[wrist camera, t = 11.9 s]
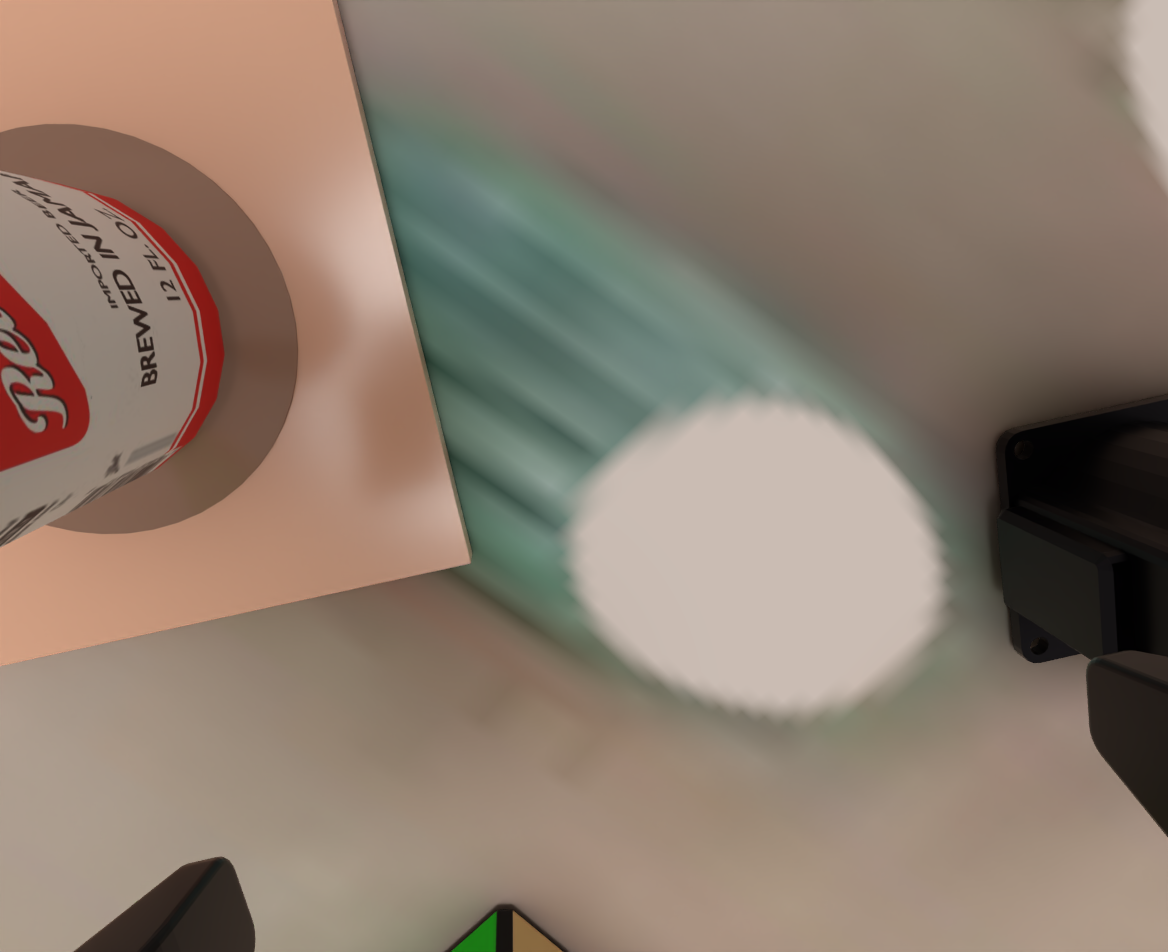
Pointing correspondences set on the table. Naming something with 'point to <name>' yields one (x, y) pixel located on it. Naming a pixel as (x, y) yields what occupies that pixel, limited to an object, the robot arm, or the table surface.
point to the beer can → (93, 350)
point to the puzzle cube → (506, 936)
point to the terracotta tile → (234, 318)
